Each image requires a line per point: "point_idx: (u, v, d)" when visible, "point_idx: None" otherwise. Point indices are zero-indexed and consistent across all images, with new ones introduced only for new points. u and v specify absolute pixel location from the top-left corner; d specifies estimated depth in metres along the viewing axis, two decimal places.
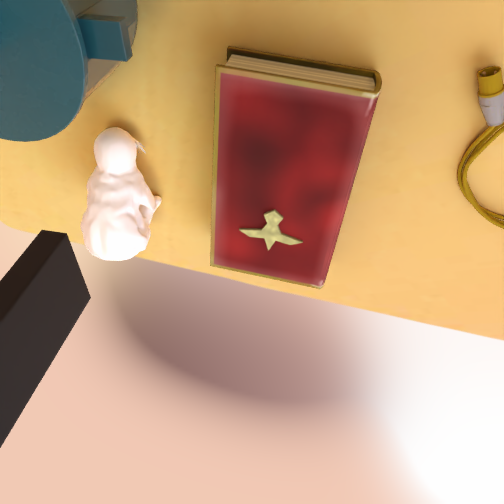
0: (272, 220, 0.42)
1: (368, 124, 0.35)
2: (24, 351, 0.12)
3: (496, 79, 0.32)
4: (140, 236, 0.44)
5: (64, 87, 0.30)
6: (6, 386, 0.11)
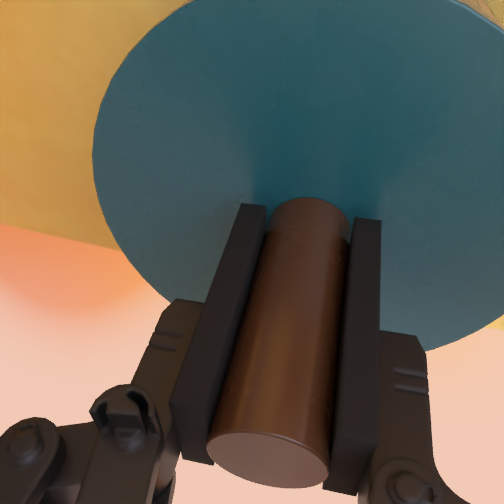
0: None
1: None
2: None
3: None
4: None
5: (442, 65, 0.11)
6: None
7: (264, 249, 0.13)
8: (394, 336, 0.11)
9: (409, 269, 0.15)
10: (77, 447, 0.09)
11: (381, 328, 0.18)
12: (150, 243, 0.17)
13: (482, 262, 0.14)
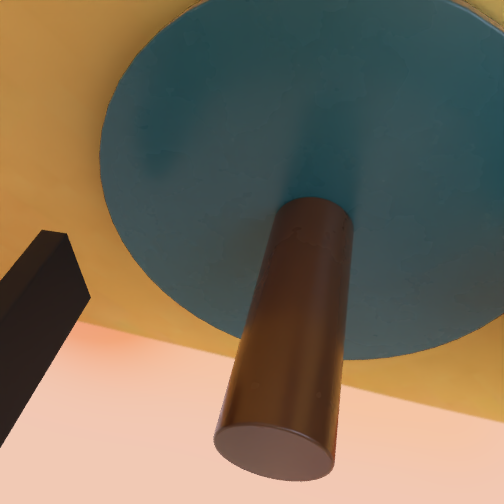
0: None
1: None
2: (24, 351, 0.12)
3: None
4: None
5: (444, 67, 0.11)
6: (6, 386, 0.11)
7: (269, 248, 0.14)
8: None
9: (411, 268, 0.15)
10: None
11: (383, 326, 0.18)
12: (155, 242, 0.17)
13: (483, 261, 0.15)
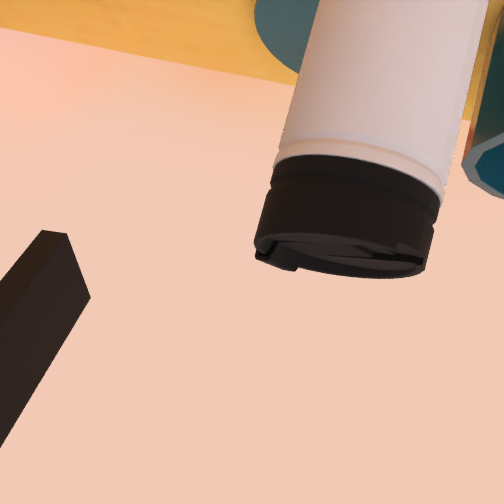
0: None
1: None
2: (24, 351, 0.12)
3: None
4: None
5: None
6: (6, 386, 0.11)
7: None
8: None
9: None
10: None
11: None
12: (280, 44, 0.37)
13: None
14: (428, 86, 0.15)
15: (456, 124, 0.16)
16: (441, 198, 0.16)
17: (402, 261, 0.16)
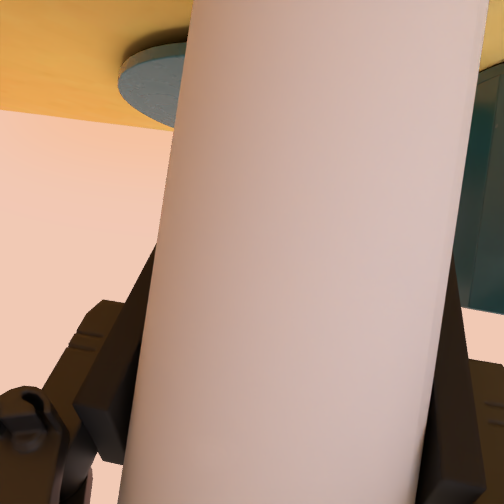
0: None
1: None
2: None
3: None
4: None
5: None
6: None
7: None
8: (478, 364, 0.10)
9: None
10: None
11: None
12: (167, 117, 0.28)
13: None
14: None
15: None
16: None
17: None
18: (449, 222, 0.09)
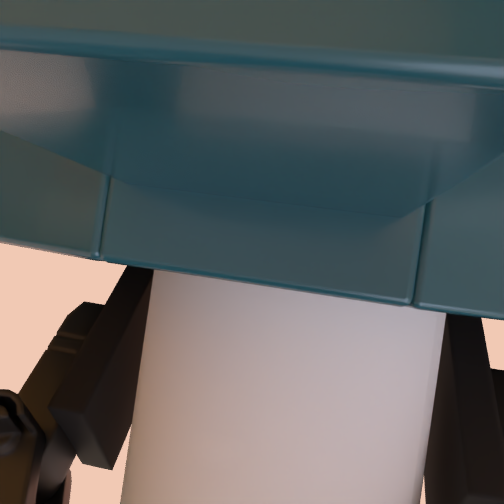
0: None
1: None
2: None
3: None
4: None
5: None
6: None
7: None
8: (499, 374, 0.10)
9: None
10: None
11: None
12: None
13: None
14: None
15: None
16: None
17: None
18: None
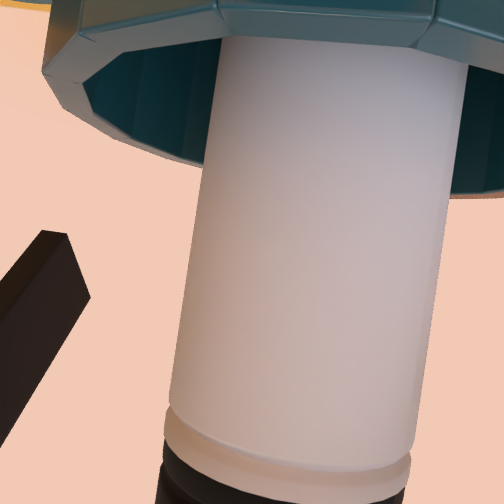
0: None
1: None
2: (24, 351, 0.12)
3: None
4: None
5: None
6: (6, 385, 0.11)
7: None
8: None
9: None
10: None
11: None
12: None
13: None
14: (378, 358, 0.09)
15: (421, 373, 0.11)
16: (407, 478, 0.11)
17: None
18: (459, 79, 0.10)
